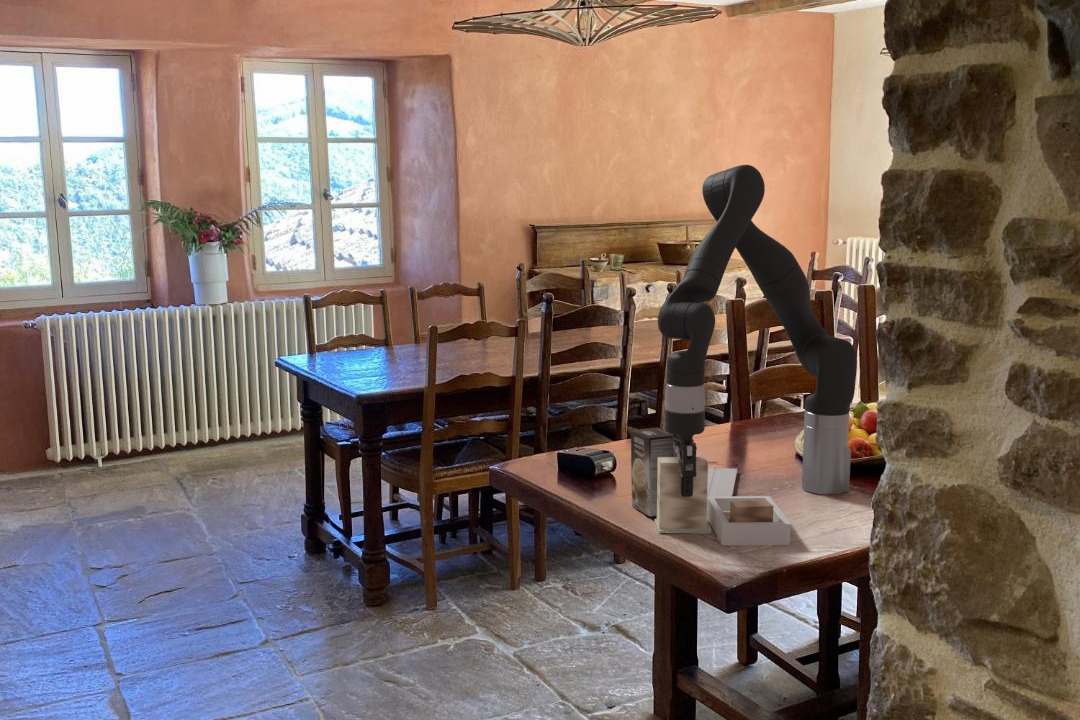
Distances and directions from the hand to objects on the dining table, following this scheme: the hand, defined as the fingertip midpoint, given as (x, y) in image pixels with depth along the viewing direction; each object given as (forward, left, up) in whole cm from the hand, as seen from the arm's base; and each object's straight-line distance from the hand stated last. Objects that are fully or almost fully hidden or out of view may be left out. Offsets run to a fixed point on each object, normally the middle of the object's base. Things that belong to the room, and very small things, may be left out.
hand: (683, 489), depth 199 cm
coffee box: (+4, -10, -7) cm, 13 cm away
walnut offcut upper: (-12, +6, -4) cm, 14 cm away
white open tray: (-12, +2, -8) cm, 14 cm away
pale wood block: (0, 0, -7) cm, 7 cm away
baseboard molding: (-8, -24, -8) cm, 26 cm away
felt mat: (0, 0, -8) cm, 8 cm away
